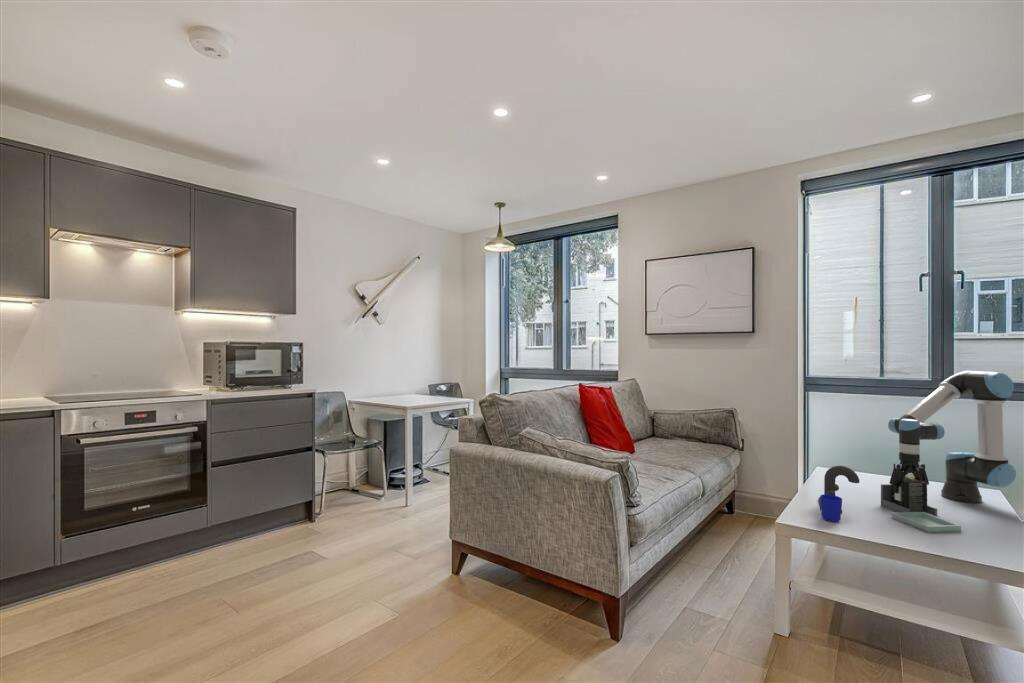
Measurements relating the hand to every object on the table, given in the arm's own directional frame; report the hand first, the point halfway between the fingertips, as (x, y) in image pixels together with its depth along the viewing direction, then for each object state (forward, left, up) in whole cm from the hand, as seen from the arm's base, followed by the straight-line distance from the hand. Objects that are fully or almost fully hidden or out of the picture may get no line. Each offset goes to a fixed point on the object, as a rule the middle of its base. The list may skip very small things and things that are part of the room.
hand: (909, 499), depth 227 cm
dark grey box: (0, 0, -5) cm, 5 cm away
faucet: (+30, -6, -5) cm, 31 cm away
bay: (0, 0, -5) cm, 5 cm away
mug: (+45, +7, -5) cm, 46 cm away
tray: (+9, +17, -5) cm, 20 cm away
